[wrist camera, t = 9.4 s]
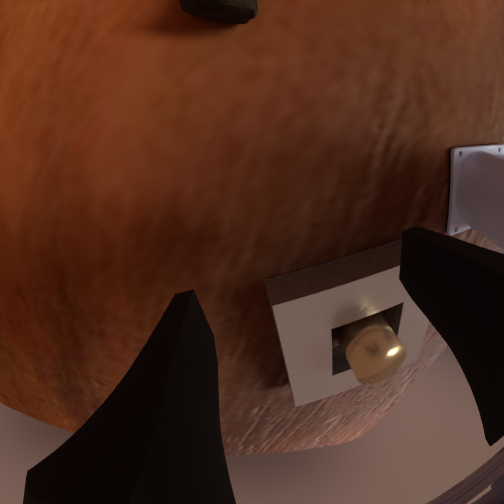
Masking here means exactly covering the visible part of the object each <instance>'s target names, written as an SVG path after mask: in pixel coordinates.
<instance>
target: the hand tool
mask: <svg viewBox="0 0 504 504" xmlns="http://www.w3.org/2000/svg"><path fill="white" fill-rule="evenodd" d="M180 4H181V6H182V7H181V9H182V10H183V11H185V12H188V13H190V14H191V15H193V16H197V17H203V18H206V19H209V20H212V21H217V22H222V23H232V24H245V23H247V22H248V21H249V20H250V19H253V18H255V16H256V15H257V12H258V6H257V1H256V0H180Z"/></svg>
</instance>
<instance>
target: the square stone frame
mask: <svg viewBox="0 0 504 504" xmlns="http://www.w3.org/2000/svg"><path fill="white" fill-rule="evenodd" d="M401 246H402V239H400V240H397V241H393V242H390V243H387V244H384V245H381V246H378V247H374V248H371V249H368V250H365V251H361V252H358V253H355V254H351V255H348V256H345V257H341V258H338V259H335V260H331V261H328V262H325V263H321V264H318V265H314V266H311V267H307V268H304V269H300V270H297V271H293V272H290V273H286V274H283V275H279V276H275V277H272V278H268V279H264V284H265V288H266V292H267V296H268V300H269V304H270V308H271V312H272V316H273V320H274V324H275V328H276V333H277V337H278V341H279V345H280V349H281V353H282V357H283V361H284V366H285V370H286V374H287V378H288V382H289V386H290V389H291V393H292V396H293V399H294V403H295V406H296V407H297V406H300V405H304V404H307V403H310V402H313V401H317V400H320V399H323V398H326V397H329V396H332V395H335V394H337V393H340V392H343V391H346V390H348V389H351V388H354V387H356V386H359V385H361V383H359V382H358V381H357V379H356V376H355V374H354V372H353V370H352V368H351V366H350V364H349V362H348V360H347V358H346V356H345V354H344V352H343V350H342V348H341V346H339V347H337V348H334V349H332V335H331V329H333V328H336V327H339V326H342V325H345V324H348V323H351V322H353V321H356V320H359V319H362V318H364V317H367V316H370V315H372V314H375V313H378V312H380V311H383V315H382V316H383V318H384V319H385V320H386V322H387V323H388V324H389V326H390V327H391V329H392V330H393V332H394V333H395V334H396V336H397V337H398V339H399V340H400V342H401V343H402V345H403V346H404V347H405V349H406V351H407V354H406V358H405V360H404V361H403V363H402V364H401V366H400V367H399V368H401V367H403V366H405V365H407V364H409V363H411V362H413V361H415V360H417V359H418V356H419V353H420V350H421V347H422V344H423V341H424V338H425V334H426V331H427V328H428V324H429V320H428V319H427V317H426V316H425V315H424V314H423V313H422V311H421V310H420V309H419V308H418V306H417V305H416V304H415V303H414V301H413V300H412V299H411V297H410V296H409V294H408V293H407V291H406V290H405V288H404V286H403V285H402V283H401V281H400V280H399V272H400V260H401Z"/></svg>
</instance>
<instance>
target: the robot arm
mask: <svg viewBox="0 0 504 504" xmlns="http://www.w3.org/2000/svg"><path fill="white" fill-rule="evenodd" d="M470 228H473V229H474V230H476V231H477V232H479V233H480V234H482V235H483V236H485V237H486V238H488V239H489V240H491V241H492V242H493V243H495V244H496V245H498V246H499V247H500V248H502V249H503V250H504V145H503V144H491V145H477V146H465V147H455V148H453V149H452V150H451V182H450V202H449V215H448V225H447V234H449V235H450V236H452V235H455V234H457V233H460V232H462V231H465V230H468V229H470ZM450 236H447V235H444V234H441V233H438V232H435V231H431V230H427V229H423V228H419V227H413V228H410V229H407V230H404V231H402V246H401V260H400V272H399V280H400V281H401V283H402V285H403V286H404V288H405V290H406V291H407V293H408V294H409V296H410V297H411V299H412V300H413V301H414V303H415V304H416V305H417V306H418V308H419V309H420V310H421V311H422V313H423V314H424V315H425V316H426V317H427V319H428V320H429V321H430V322H431V324H432V325H433V326H434V327H435V329H436V330H437V331H438V332H439V334H440V335H441V336H442V337H443V339H444V340H445V341H446V343H447V344H448V346H449V347H450V349H451V350H452V352H453V354H454V355H455V357H456V359H457V361H458V362H459V364H460V366H461V368H462V370H463V372H464V374H465V376H466V379H467V381H468V383H469V385H470V387H471V390H472V393H473V395H474V398H475V401H476V403H477V406H478V409H479V413H480V416H481V420H482V424H483V428H484V433H485V438H486V440H487V442H488V444H489V446H492V445H493V444H494V443H496V442H497V441H498V440H499V439H500V438H502V437H503V436H504V254H502V253H498V252H495V251H492V250H489V249H486V248H483V247H480V246H477V245H474V244H471V243H468V242H465V241H462V240H459V239H456V238H453V237H450ZM491 484H492V485H491ZM489 485H491V488H492V489H491V490H490V491H489V492H487V493H486V494H485V495H483V496H482V497H481V498H479V499H478V500H476V501H475V502H473V503H472V504H504V447H503V448H502V449H501V450H500V451H499V452H497V453H496V454H495V455H494V456H493V457H492V458H491V459H489V460H488V461H487V462H486V463H485V464H483V465H482V466H481V467H480V468H478V469H477V470H476V471H474V472H473V473H472V474H470V475H469V476H468V477H466V478H465V479H464V480H462V481H461V482H459V483H458V484H457V485H455V486H454V487H452V488H451V489H449V490H448V491H446V492H445V493H443V494H441V495H440V496H438V497H436V498H435V499H433V500H431V501H430V502H428V503H426V504H466V503H467V502H468V501H470V500H471V499H473V498H474V497H476V496H477V495H478V494H479V493H481V492H482V491H483V490H484V489H486V488H487V487H488V486H489ZM23 504H236V502H235V498H234V494H233V490H232V486H231V483H230V479H229V473H228V469H227V464H226V459H225V454H224V448H223V443H222V437H221V430H220V418H219V392H218V362H217V355H216V348H215V342H214V335H213V333H212V331H211V328H210V326H209V324H208V322H207V319H206V317H205V315H204V313H203V310H202V308H201V306H200V304H199V301H198V299H197V297H196V294H195V292H194V290H190V291H186V292H182V293H178V294H175V296H174V297H173V299H172V300H171V302H170V304H169V305H168V307H167V309H166V311H165V312H164V314H163V316H162V318H161V319H160V321H159V323H158V324H157V326H156V328H155V329H154V331H153V333H152V334H151V336H150V338H149V340H148V341H147V343H146V344H145V346H144V347H143V349H142V350H141V352H140V354H139V355H138V357H137V358H136V360H135V361H134V363H133V364H132V366H131V367H130V369H129V370H128V372H127V373H126V375H125V376H124V377H123V379H122V380H121V381H120V383H119V384H118V385H117V387H116V388H115V389H114V390H113V392H112V393H111V394H110V395H109V397H108V398H107V399H106V400H105V401H104V403H103V404H102V405H101V406H100V407H99V408H98V409H97V410H96V411H95V413H94V414H93V415H92V416H91V417H90V418H89V419H88V420H87V421H86V423H85V424H84V425H83V426H82V427H81V428H80V429H78V430H77V431H76V432H75V433H74V434H73V435H72V436H71V437H70V438H69V439H68V440H67V441H66V442H65V443H64V444H62V445H61V446H60V447H59V448H58V449H56V450H55V451H54V452H53V453H51V454H50V455H49V456H47V457H46V458H45V459H43V460H42V461H41V462H39V463H38V464H37V465H35V466H34V467H33V468H31V469H30V470H28V472H27V476H26V483H25V491H24V499H23Z"/></svg>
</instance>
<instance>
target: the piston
mask: <svg viewBox="0 0 504 504" xmlns="http://www.w3.org/2000/svg"><path fill="white" fill-rule="evenodd" d="M332 330H333V332H334V334H335V336H336V338H337V340H338V342H339V344H340V346H341V348H342V350H343V352H344V354H345V356H346V358H347V360H348V362H349V364H350V366H351V368H352V370H353V372H354V374H355V376H356V379H357V381H358V382H359V383H361V384H372V383H375V382H378V381H381V380H383V379H384V378H386V377H388V376H389V375H391V374H392V373H393V372H395V371H396V370H397V369H398V368H399V367H400V366H401V364H402V363H403V361H404V360H405V358H406V354H407V351H406V349H405V347H404V346H403V345H402V343H401V342H400V340H399V339H398V337H397V336H396V334H395V333H394V332H393V330H392V329H391V327H390V326H389V324H388V323H387V322H386V320H385V319H384V318H383V316H382V315H381V313H380V312H378V313H375V314H372V315H370V316H367V317H364V318H362V319H359V320H356V321H353V322H351V323H348V324H345V325H342V326H339V327H336V328H333V329H332Z"/></svg>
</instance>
